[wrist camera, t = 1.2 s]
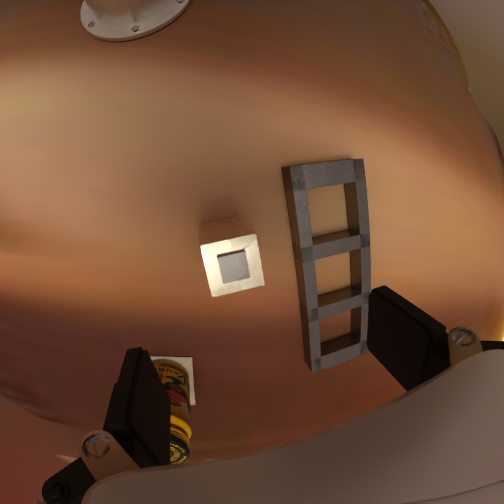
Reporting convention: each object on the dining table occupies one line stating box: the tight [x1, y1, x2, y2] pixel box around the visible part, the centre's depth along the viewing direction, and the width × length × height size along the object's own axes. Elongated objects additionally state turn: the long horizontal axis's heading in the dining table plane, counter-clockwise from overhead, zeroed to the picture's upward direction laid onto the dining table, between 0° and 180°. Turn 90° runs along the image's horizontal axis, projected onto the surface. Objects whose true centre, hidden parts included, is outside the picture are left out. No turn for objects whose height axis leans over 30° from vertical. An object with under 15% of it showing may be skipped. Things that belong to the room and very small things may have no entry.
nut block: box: [199, 216, 265, 297], centre depth 24 cm, size 4×4×8 cm
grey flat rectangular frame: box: [282, 159, 371, 373], centre depth 30 cm, size 24×8×2 cm, turn 10°
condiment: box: [150, 356, 195, 464], centre depth 25 cm, size 7×8×12 cm
